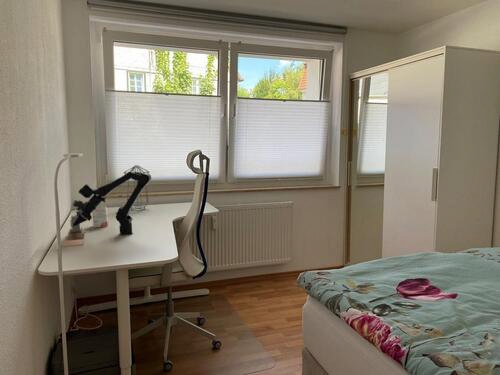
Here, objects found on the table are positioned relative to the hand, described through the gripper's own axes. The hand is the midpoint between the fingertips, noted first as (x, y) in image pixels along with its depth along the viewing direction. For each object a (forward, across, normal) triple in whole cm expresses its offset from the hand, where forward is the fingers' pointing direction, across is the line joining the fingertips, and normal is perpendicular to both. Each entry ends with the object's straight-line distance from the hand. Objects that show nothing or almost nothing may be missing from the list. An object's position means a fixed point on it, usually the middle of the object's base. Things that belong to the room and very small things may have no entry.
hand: (73, 224), depth 210 cm
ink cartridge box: (-8, -20, +18) cm, 28 cm away
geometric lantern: (-33, -62, +44) cm, 82 cm away
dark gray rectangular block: (+2, 0, +4) cm, 4 cm away
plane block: (+4, 0, +6) cm, 7 cm away
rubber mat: (+7, +14, +4) cm, 16 cm away
